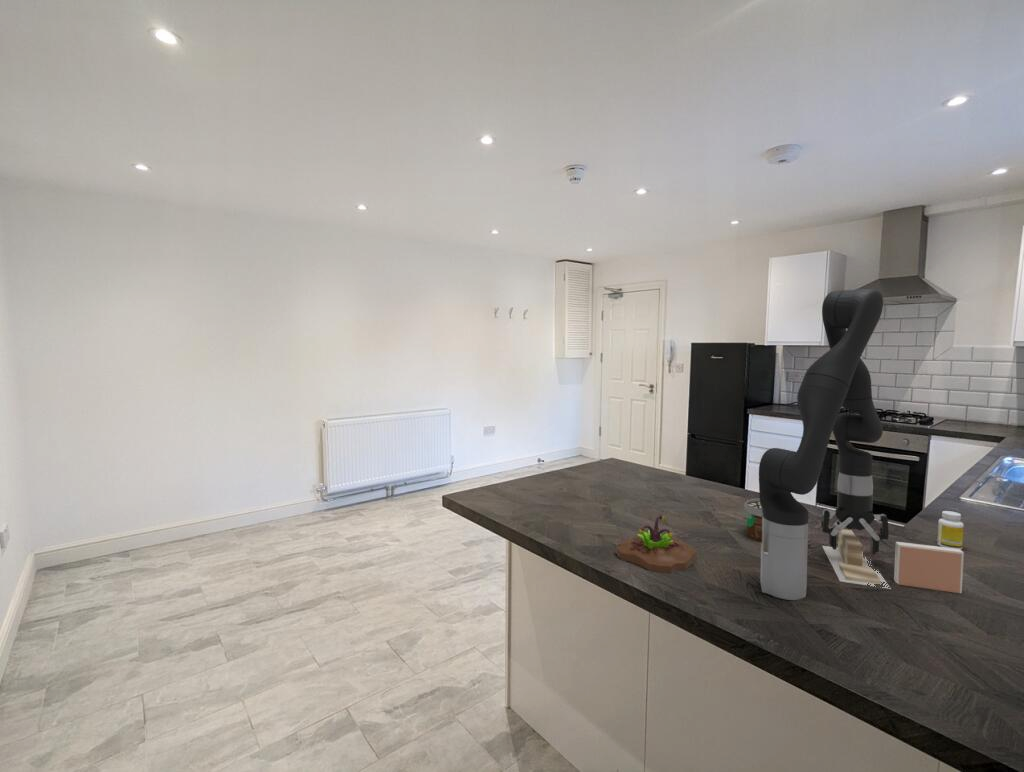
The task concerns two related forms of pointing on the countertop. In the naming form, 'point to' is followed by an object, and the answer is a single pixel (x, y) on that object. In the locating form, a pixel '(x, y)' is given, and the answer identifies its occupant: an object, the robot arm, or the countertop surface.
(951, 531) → the supplement bottle
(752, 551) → the countertop surface
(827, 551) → the mat
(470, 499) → the countertop surface
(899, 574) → the tile
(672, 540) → the toy plant on soil
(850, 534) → the turner
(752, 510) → the food container
